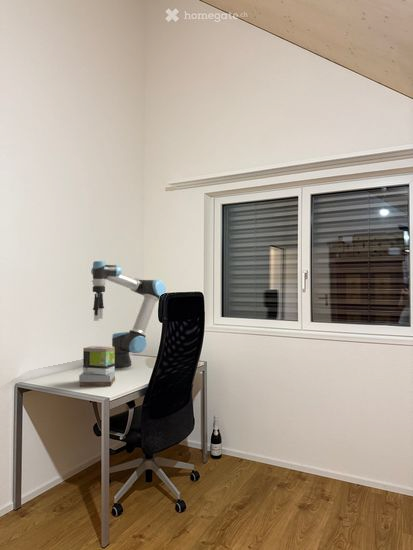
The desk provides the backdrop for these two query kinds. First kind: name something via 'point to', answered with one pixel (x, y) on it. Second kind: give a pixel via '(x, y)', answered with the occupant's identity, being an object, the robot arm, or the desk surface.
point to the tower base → (97, 383)
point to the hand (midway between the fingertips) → (98, 319)
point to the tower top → (96, 377)
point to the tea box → (99, 360)
